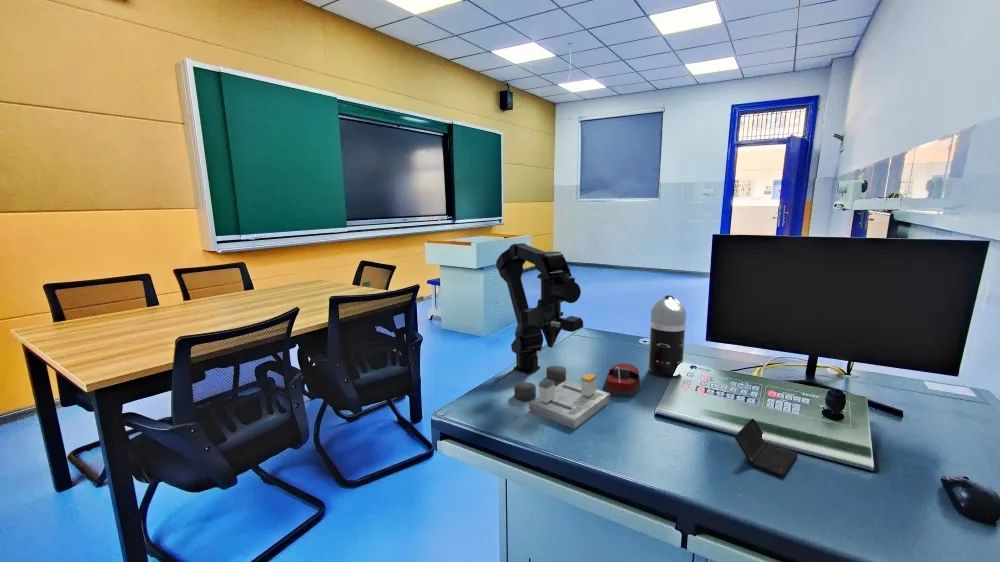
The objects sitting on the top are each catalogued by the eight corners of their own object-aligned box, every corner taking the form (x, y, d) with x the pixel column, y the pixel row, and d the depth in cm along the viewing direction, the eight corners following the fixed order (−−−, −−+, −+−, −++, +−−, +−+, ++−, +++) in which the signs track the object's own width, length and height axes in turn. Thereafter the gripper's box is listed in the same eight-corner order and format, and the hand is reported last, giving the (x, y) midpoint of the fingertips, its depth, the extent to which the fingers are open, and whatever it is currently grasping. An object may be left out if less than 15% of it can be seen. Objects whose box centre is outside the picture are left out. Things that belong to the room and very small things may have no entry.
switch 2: (581, 394, 115) (581, 377, 114) (588, 389, 118) (588, 373, 117) (589, 396, 113) (589, 380, 112) (596, 392, 116) (596, 375, 115)
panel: (528, 411, 112) (528, 402, 112) (566, 388, 125) (566, 379, 125) (574, 429, 103) (574, 419, 102) (609, 402, 116) (610, 393, 115)
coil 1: (510, 397, 120) (510, 387, 120) (523, 390, 125) (523, 380, 124) (527, 403, 116) (526, 393, 116) (540, 395, 121) (540, 386, 120)
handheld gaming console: (796, 475, 82) (764, 425, 85) (759, 485, 86) (730, 437, 89) (800, 454, 91) (770, 410, 94) (767, 465, 95) (739, 422, 98)
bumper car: (643, 377, 132) (644, 346, 130) (635, 405, 114) (636, 370, 112) (610, 372, 136) (611, 342, 134) (598, 399, 118) (599, 365, 116)
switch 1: (539, 400, 112) (539, 383, 111) (547, 395, 115) (547, 378, 114) (546, 403, 110) (546, 385, 109) (554, 398, 113) (555, 381, 112)
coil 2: (542, 379, 131) (542, 370, 131) (553, 373, 136) (553, 364, 135) (558, 384, 127) (558, 375, 127) (569, 378, 132) (569, 369, 131)
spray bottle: (685, 370, 136) (690, 293, 131) (679, 381, 128) (684, 300, 123) (652, 364, 142) (655, 290, 137) (644, 374, 133) (647, 297, 128)
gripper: (508, 296, 123) (508, 347, 126) (562, 306, 110) (561, 363, 113) (531, 289, 131) (531, 337, 134) (584, 298, 118) (583, 351, 121)
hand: (550, 347), depth 125 cm, fingers closed
